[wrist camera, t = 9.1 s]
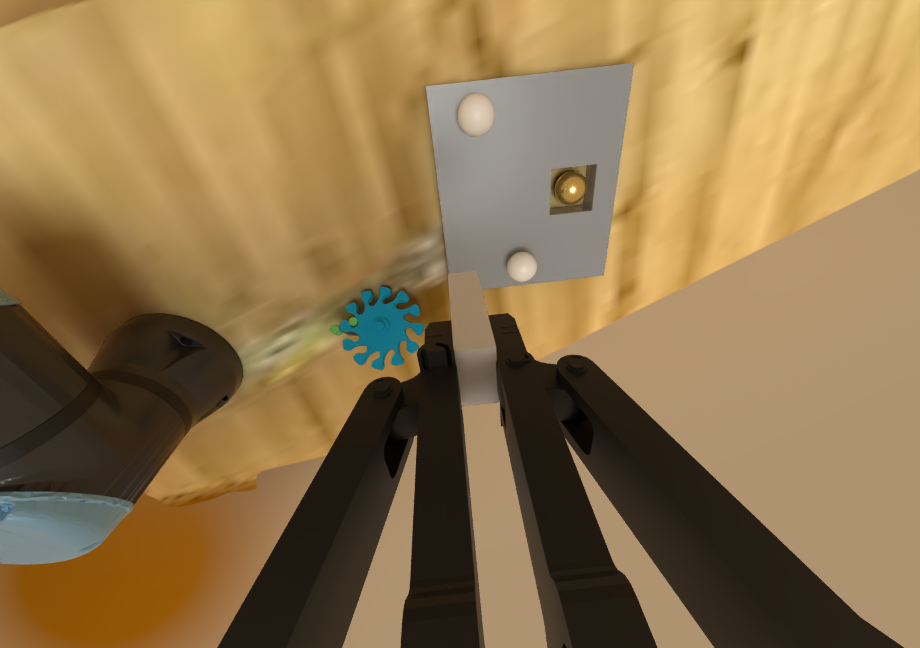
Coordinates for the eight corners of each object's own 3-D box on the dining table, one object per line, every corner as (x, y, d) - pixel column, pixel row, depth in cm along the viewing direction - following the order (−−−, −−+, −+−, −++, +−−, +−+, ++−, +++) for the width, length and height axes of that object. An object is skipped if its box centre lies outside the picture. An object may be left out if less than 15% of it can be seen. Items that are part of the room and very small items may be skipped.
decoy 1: (505, 275, 39) (510, 288, 37) (504, 249, 38) (509, 260, 35) (532, 272, 39) (539, 284, 37) (533, 245, 38) (540, 256, 35)
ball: (566, 198, 38) (547, 205, 37) (569, 167, 37) (549, 172, 35) (591, 202, 36) (571, 210, 35) (595, 169, 34) (574, 176, 33)
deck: (450, 283, 42) (451, 292, 40) (426, 87, 32) (425, 86, 29) (595, 267, 42) (603, 275, 40) (620, 65, 32) (634, 62, 29)
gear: (425, 286, 41) (418, 371, 38) (432, 300, 46) (426, 375, 44) (334, 282, 41) (322, 366, 39) (352, 297, 47) (342, 370, 45)
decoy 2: (458, 137, 32) (460, 140, 29) (454, 95, 30) (456, 94, 27) (492, 133, 32) (498, 135, 29) (491, 91, 30) (496, 90, 27)
